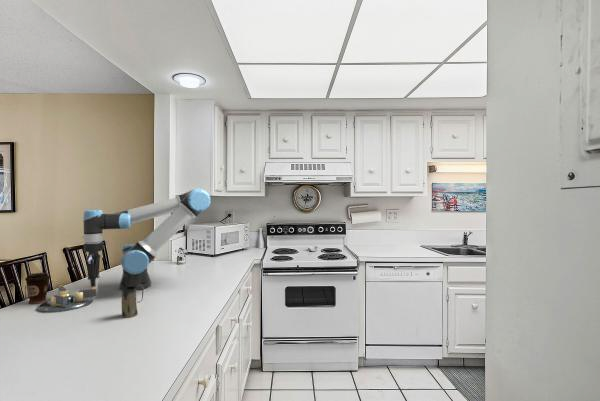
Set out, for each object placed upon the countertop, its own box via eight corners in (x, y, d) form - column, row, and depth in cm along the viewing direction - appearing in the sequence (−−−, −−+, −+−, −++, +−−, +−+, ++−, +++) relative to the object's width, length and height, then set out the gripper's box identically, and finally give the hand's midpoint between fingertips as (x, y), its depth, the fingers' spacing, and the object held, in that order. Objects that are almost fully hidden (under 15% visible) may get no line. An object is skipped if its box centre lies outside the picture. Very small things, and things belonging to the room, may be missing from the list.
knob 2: (48, 306, 140) (48, 294, 139) (58, 303, 143) (57, 291, 143) (60, 308, 136) (60, 296, 136) (69, 306, 139) (69, 293, 139)
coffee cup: (35, 305, 144) (34, 276, 144) (20, 304, 146) (19, 275, 146) (53, 299, 153) (53, 272, 153) (39, 298, 154) (38, 271, 154)
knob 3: (73, 302, 144) (73, 290, 144) (76, 299, 148) (76, 288, 148) (95, 300, 147) (94, 288, 147) (97, 298, 150) (97, 286, 150)
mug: (119, 318, 128) (119, 288, 128) (124, 313, 133) (123, 284, 133) (141, 316, 130) (141, 286, 129) (145, 311, 135) (144, 283, 135)
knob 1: (69, 299, 149) (69, 287, 149) (60, 301, 146) (59, 289, 146) (65, 295, 155) (65, 284, 154) (56, 297, 152) (55, 286, 152)
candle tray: (98, 296, 158) (98, 285, 158) (84, 309, 139) (84, 297, 139) (50, 300, 152) (50, 289, 152) (28, 314, 133) (28, 302, 133)
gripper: (88, 241, 158) (89, 289, 159) (79, 244, 146) (79, 297, 146) (106, 240, 161) (106, 288, 161) (98, 244, 148) (98, 295, 148)
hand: (93, 292), depth 153 cm, fingers closed
